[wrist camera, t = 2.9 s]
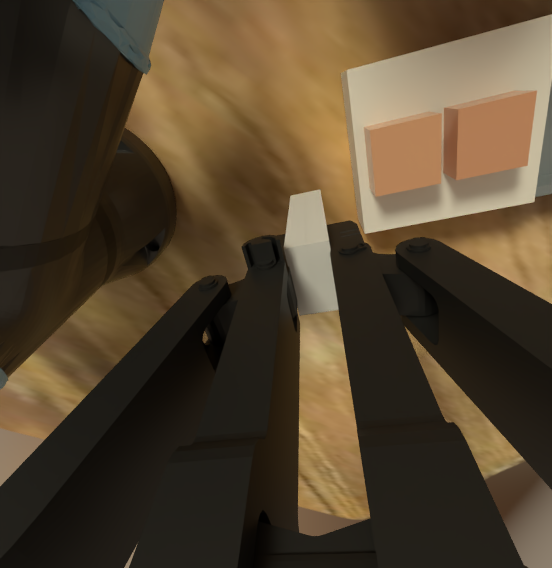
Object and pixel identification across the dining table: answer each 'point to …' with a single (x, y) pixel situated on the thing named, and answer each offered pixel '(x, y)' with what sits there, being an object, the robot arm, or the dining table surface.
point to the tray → (546, 156)
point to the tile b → (488, 134)
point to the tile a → (404, 153)
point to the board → (435, 97)
